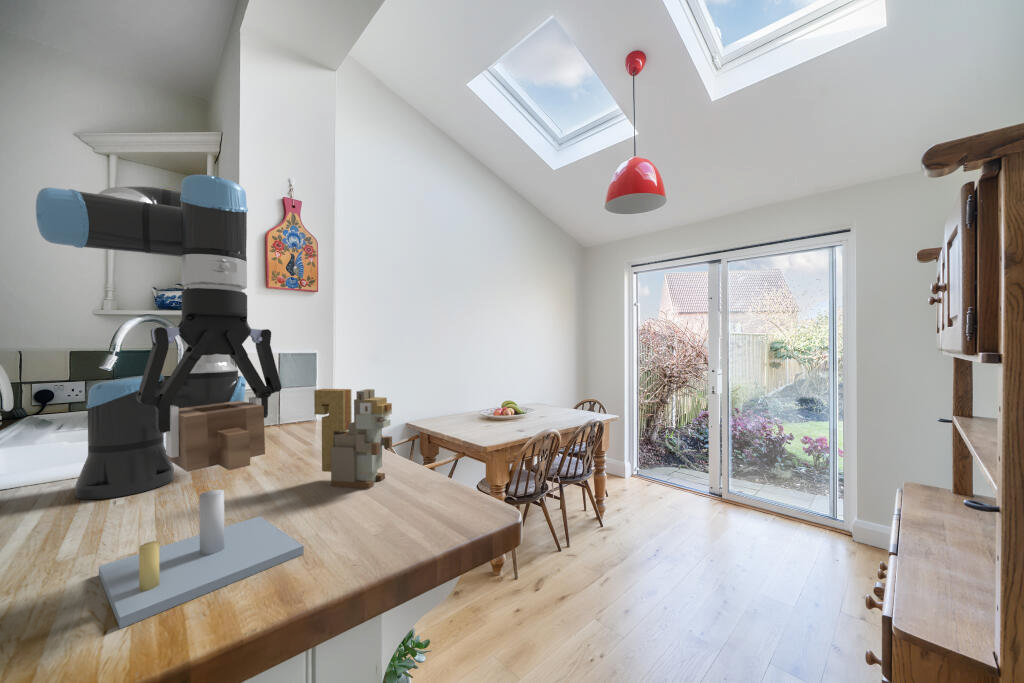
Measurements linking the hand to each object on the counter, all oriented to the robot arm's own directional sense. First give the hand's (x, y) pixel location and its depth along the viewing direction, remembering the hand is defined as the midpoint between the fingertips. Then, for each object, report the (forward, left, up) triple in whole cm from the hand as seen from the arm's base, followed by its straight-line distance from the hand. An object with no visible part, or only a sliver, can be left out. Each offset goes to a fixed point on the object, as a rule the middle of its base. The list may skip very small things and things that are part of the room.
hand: (216, 447), depth 57 cm
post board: (+1, -2, -16) cm, 16 cm away
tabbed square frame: (+2, 0, -1) cm, 2 cm away
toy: (-13, +28, -16) cm, 35 cm away
